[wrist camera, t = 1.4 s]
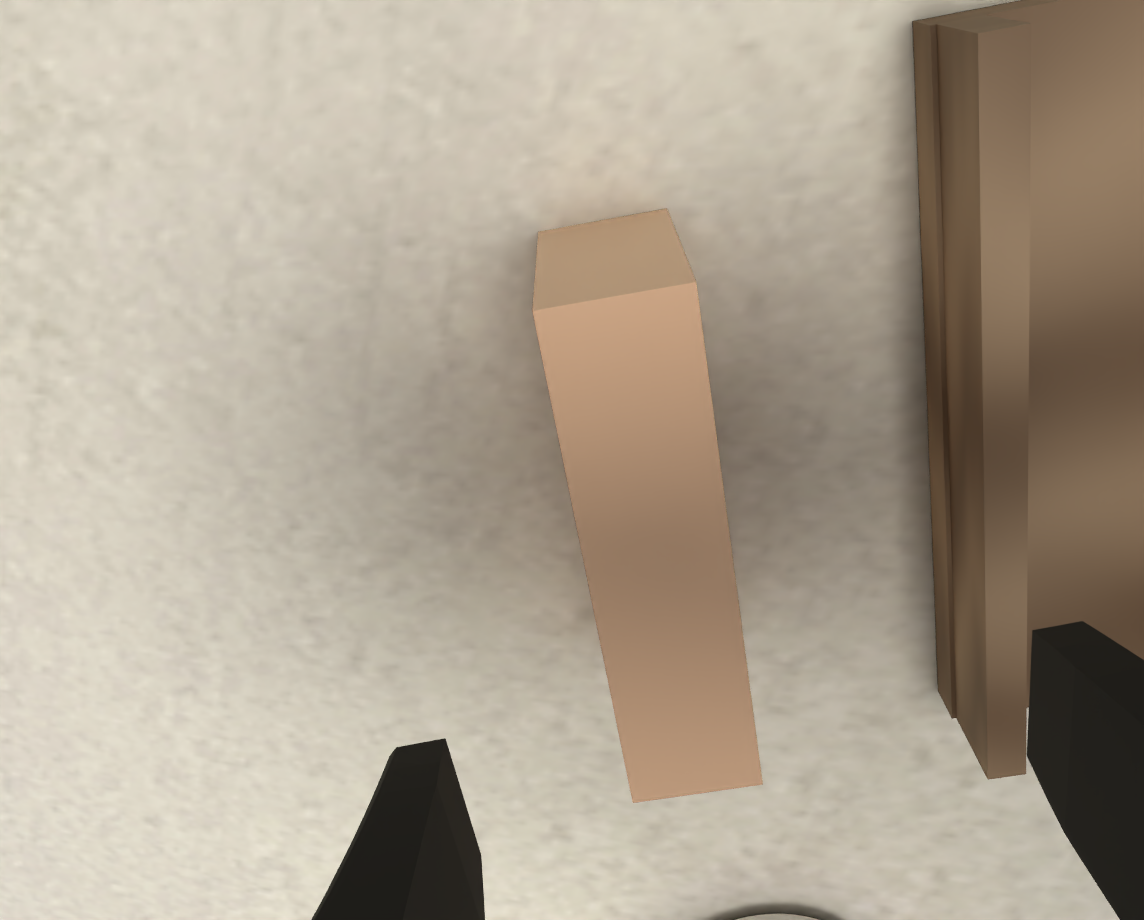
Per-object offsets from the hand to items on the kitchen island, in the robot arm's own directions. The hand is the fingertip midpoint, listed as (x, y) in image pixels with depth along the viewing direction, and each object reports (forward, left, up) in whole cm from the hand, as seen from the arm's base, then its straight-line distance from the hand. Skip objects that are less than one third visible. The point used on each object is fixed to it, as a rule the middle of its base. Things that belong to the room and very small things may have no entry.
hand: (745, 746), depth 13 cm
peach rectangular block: (-1, +1, -10) cm, 10 cm away
